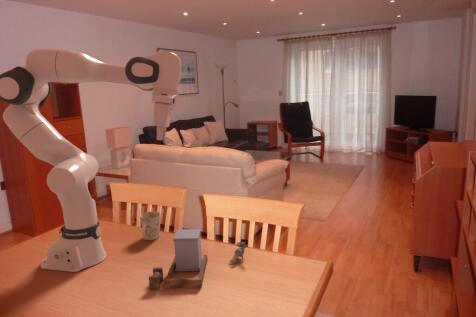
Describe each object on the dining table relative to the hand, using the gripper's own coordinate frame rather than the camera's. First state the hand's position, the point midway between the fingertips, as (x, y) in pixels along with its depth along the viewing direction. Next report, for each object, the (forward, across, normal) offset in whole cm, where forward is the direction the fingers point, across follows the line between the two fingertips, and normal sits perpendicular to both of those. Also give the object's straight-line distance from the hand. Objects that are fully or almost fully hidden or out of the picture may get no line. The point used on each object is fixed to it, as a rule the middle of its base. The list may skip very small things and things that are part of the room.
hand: (160, 139), depth 122 cm
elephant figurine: (+40, -1, +33) cm, 52 cm away
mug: (+43, -24, -2) cm, 49 cm away
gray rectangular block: (+44, +1, +15) cm, 46 cm away
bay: (+45, +5, +12) cm, 46 cm away
